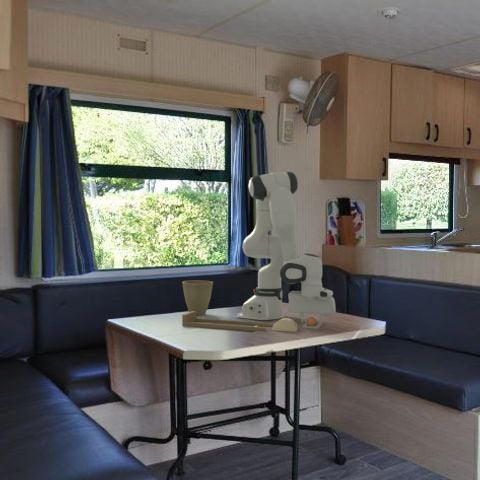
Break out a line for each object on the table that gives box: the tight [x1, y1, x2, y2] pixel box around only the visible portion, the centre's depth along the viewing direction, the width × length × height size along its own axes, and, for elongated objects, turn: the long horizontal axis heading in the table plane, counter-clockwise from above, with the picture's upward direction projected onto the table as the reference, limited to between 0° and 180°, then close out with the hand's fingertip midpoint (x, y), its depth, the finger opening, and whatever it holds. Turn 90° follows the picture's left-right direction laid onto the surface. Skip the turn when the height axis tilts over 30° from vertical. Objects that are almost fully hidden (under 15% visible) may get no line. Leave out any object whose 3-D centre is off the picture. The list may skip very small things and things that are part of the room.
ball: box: [306, 316, 317, 326], centre depth 254 cm, size 4×4×4 cm
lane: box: [181, 311, 299, 333], centre depth 255 cm, size 50×11×10 cm, turn 70°
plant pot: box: [181, 279, 214, 317], centre depth 288 cm, size 15×15×16 cm
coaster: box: [301, 322, 322, 330], centre depth 254 cm, size 7×7×1 cm
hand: (311, 323), depth 254 cm, fingers open, 5 cm apart
